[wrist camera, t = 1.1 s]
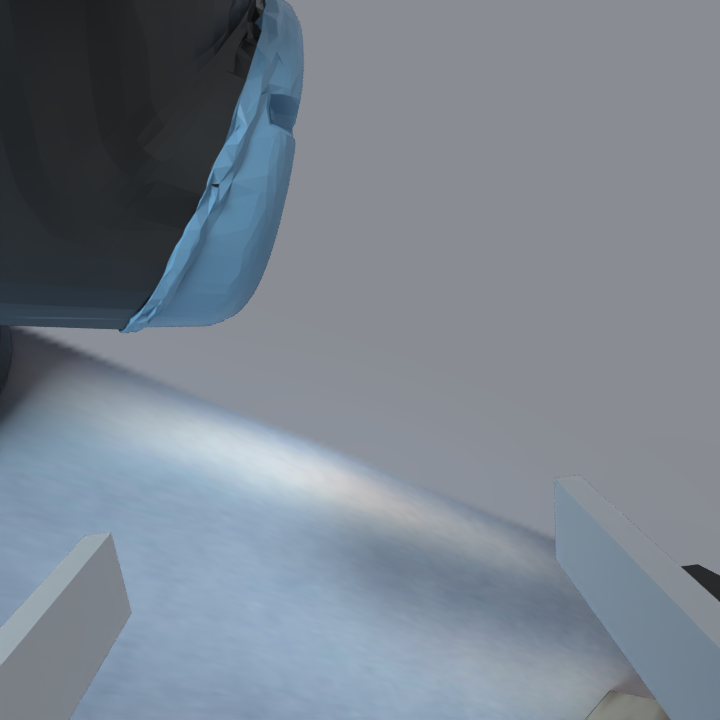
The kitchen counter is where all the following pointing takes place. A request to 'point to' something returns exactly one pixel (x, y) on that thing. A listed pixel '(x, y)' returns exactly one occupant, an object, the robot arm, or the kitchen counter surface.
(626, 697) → the pedestal
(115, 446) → the kitchen counter surface
